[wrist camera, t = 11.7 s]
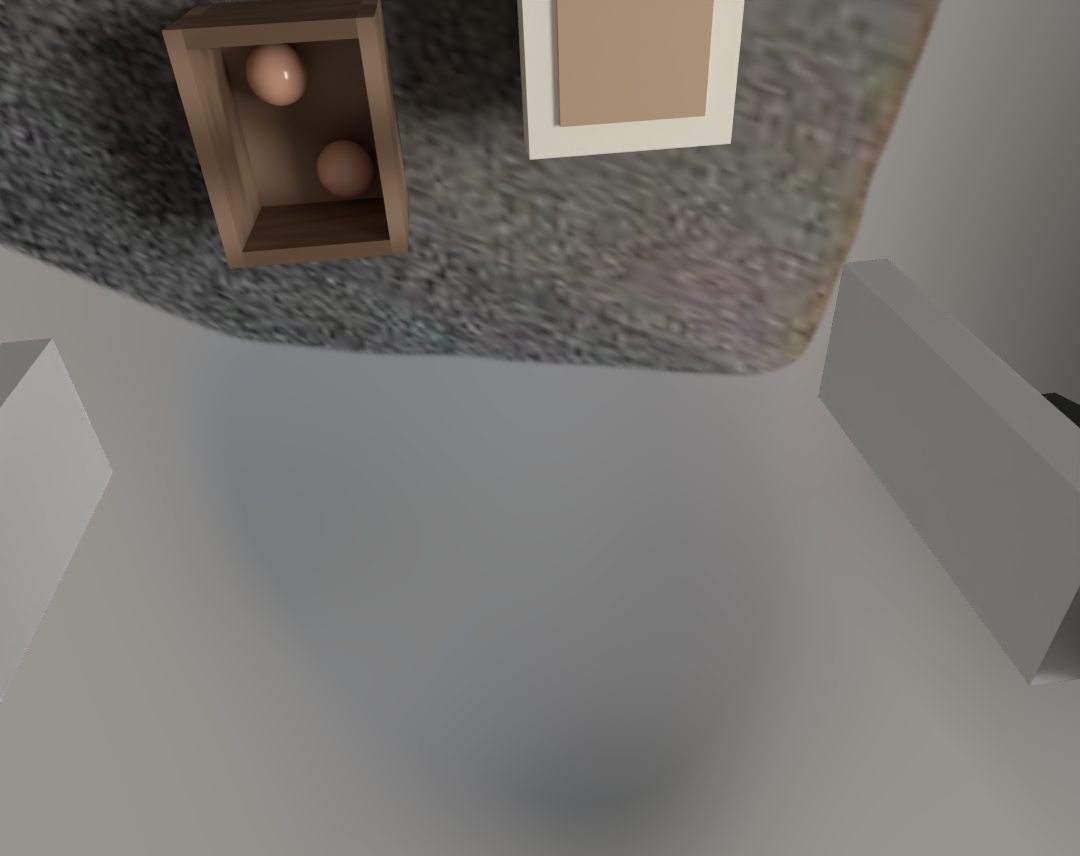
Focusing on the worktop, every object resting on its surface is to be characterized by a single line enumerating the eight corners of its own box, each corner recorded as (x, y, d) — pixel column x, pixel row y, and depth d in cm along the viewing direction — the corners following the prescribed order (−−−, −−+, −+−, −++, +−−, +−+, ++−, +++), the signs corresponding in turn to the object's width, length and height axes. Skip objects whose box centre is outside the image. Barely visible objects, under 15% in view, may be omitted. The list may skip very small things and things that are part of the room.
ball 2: (314, 135, 44) (308, 151, 41) (370, 131, 44) (367, 147, 42) (325, 189, 46) (320, 208, 43) (379, 185, 46) (376, 203, 43)
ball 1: (244, 37, 41) (233, 49, 38) (304, 33, 41) (297, 45, 39) (258, 99, 43) (249, 114, 40) (316, 95, 43) (310, 110, 40)
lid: (509, -144, 34) (516, -143, 32) (740, -156, 35) (762, -156, 33) (524, 144, 41) (530, 161, 39) (716, 129, 42) (732, 145, 40)
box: (197, 4, 40) (161, 30, 35) (380, -7, 41) (374, 17, 35) (252, 217, 47) (229, 268, 41) (409, 204, 47) (408, 253, 42)
